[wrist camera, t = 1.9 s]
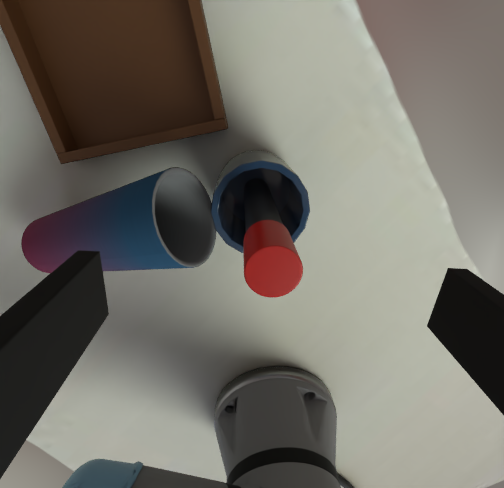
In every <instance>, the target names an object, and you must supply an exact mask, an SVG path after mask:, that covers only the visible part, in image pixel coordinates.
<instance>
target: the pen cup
mask: <svg viewBox="0 0 504 488" xmlns="http://www.w3.org/2000/svg"><path fill="white" fill-rule="evenodd" d="M255 178H258V179H262V180H263V181H265V182H266V183H267V185H268V187H269V190H270V192H271V195H272V197H273V200H274V203H275V205H276V208H277V210H278V213H279V215H280V218H281V220H282V223H283V225H284V226H285V227H286V228H287V230H288V231H289V233H290V236H291V238H292V241H293V243H294V242H295V241H296V239H297V238H298V237H299V235H300V234H301V233H302V232H303V230H304V229H305V226H306V223H307V219H308V216H309V212H310V207H309V199H308V192H307V190H306V189H305V187H304V185H303V184H302V182H301V180H300V179H299V177H298V176H297V175H296V173H295V172H294V171H293V170H292V169H291V168H290V167H289V166H288V165H287V164H286V163H285V162H284V161H283V160H281V159H280V158H279V157H277V156H276V155H274V154H272V153H270V152H266V151H262V150H251V151H246V152H243V153H241V154H239V155H237V156H235V157H234V158H233V159H231V160H230V161H229V162H228V163H227V164H226V166H225V167H224V169H223V171H222V172H221V174H220V176H219V179H218V182H217V185H216V188H215V191H214V194H213V200H212V207H211V214H212V218H213V222H214V226H215V229H216V231H217V232H218V233H219V235H220V236H221V237H222V239H223V240H224V241H225V242H226V244H228V245H229V246H231V247H233V248H234V249H236V250H238V251H240V252H241V253H244V249H243V240H244V236H245V233H246V231H245V209H244V187H245V185H246V183H247V182H248V181H250V180H251V179H255Z"/></svg>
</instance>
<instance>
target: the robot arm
mask: <svg viewBox="0 0 504 488" xmlns="http://www.w3.org/2000/svg"><path fill="white" fill-rule="evenodd" d="M108 314H109V313H108V306H107V299H106V292H105V285H104V278H103V271H102V264H101V257H100V251H82V250H78V251H77V252H75V253H74V254H73V255H72V256H71V257H70V258H68V259H67V260H66V261H65V262H64V263H62V264H61V265H60V266H59V267H58V268H57V269H55V270H54V271H53V272H52V273H51V274H49V275H48V276H47V277H46V278H45V279H44V280H42V281H41V282H40V283H39V284H38V285H36V286H35V287H34V288H33V289H32V290H31V291H29V292H28V293H27V294H26V295H25V296H23V297H22V298H21V299H20V300H19V301H18V302H16V303H15V304H14V305H13V306H12V307H11V308H9V309H8V310H7V311H6V312H5V313H3V314H2V315H1V316H0V479H1V477H2V476H3V474H4V472H5V471H6V469H7V468H8V466H9V465H10V463H11V462H12V460H13V459H14V457H15V456H16V454H17V453H18V451H19V450H20V448H21V447H22V445H23V444H24V442H25V441H26V439H27V437H28V436H29V434H30V433H31V431H32V430H33V428H34V427H35V425H36V424H37V422H38V421H39V419H40V418H41V416H42V415H43V413H44V412H45V410H46V409H47V407H48V406H49V404H50V403H51V401H52V399H53V398H54V396H55V395H56V393H57V392H58V390H59V389H60V387H61V386H62V384H63V383H64V381H65V380H66V378H67V377H68V375H69V374H70V372H71V371H72V369H73V368H74V366H75V365H76V363H77V361H78V360H79V358H80V357H81V355H82V354H83V352H84V351H85V349H86V348H87V346H88V345H89V343H90V342H91V340H92V339H93V337H94V336H95V334H96V333H97V331H98V330H99V328H100V327H101V325H102V323H103V322H104V320H105V319H106V317H107V316H108ZM427 327H428V328H429V329H430V330H431V331H432V332H433V334H434V335H435V336H436V337H437V338H438V339H439V341H440V342H441V343H442V344H443V345H444V346H445V347H446V349H447V350H448V351H449V352H450V353H451V354H452V356H453V357H454V358H455V359H456V360H457V361H458V363H459V364H460V365H461V366H462V367H463V368H464V370H465V371H466V372H467V373H468V374H469V375H470V377H471V378H472V379H473V380H474V381H475V382H476V384H477V385H478V386H479V387H480V388H481V389H482V390H483V392H484V393H485V394H486V395H487V396H488V397H489V399H490V400H491V401H492V402H493V403H494V404H495V406H496V407H497V408H498V409H499V410H500V411H501V413H502V414H503V415H504V295H503V294H502V293H500V292H499V291H498V290H496V289H495V288H493V287H492V286H490V285H489V284H488V283H486V282H485V281H483V280H482V279H481V278H479V277H478V276H476V275H475V274H473V273H472V272H471V271H469V270H468V269H454V268H448V270H447V273H446V275H445V278H444V281H443V284H442V286H441V289H440V292H439V294H438V297H437V300H436V303H435V305H434V308H433V311H432V314H431V316H430V319H429V322H428V325H427ZM336 418H337V416H336V409H335V406H334V403H333V400H332V397H331V394H330V392H329V390H328V388H327V387H326V386H325V384H324V383H323V382H322V381H321V380H319V379H318V378H317V377H315V376H314V375H312V374H310V373H308V372H306V371H303V370H300V369H296V368H291V367H266V368H260V369H256V370H253V371H250V372H247V373H245V374H243V375H241V376H239V377H237V378H236V379H234V380H233V381H232V382H230V383H229V384H228V385H227V386H226V387H225V388H224V390H223V391H222V392H221V394H220V396H219V397H218V400H217V403H216V408H215V419H214V426H215V432H216V436H217V440H218V444H219V448H220V452H221V456H222V460H223V463H224V467H225V471H226V475H227V483H224V482H220V481H215V480H210V479H205V478H201V477H196V476H191V475H187V474H182V473H177V472H172V471H168V470H163V469H158V468H154V467H149V466H144V465H143V463H141V462H136V463H134V464H132V463H126V462H119V461H112V460H106V459H95V460H91V461H89V462H87V463H85V464H83V465H82V466H80V467H79V468H78V469H77V470H76V471H75V472H74V473H73V474H72V475H71V477H70V478H69V479H68V480H67V482H66V483H65V485H64V486H63V488H341V486H343V487H344V488H353V486H352V485H351V484H349V483H348V482H347V481H346V480H344V479H343V478H342V477H340V476H339V475H337V471H336V466H335V457H336V423H337V419H336ZM340 485H341V486H340Z"/></svg>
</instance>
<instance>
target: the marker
mask: <svg viewBox="0 0 504 488" xmlns="http://www.w3.org/2000/svg"><path fill="white" fill-rule="evenodd" d="M244 209H245V231H246V233H245V236H244V240H243V249H244V277H245V280H246V282H247V284H248V286H249V287H250V288H251V289H252V290H253V291H254V292H256V293H257V294H259V295H262V296H265V297H279V296H283V295H286V294H288V293H289V292H291V291H292V290H293V289H295V287H296V286H297V285H298V284H299V282H300V280H301V277H302V274H303V266H302V262H301V260H300V257H299V255H298V253H297V250H296V248H295V245H294V243H293V241H292V238H291V236H290V233H289V231H288V230H287V228H286V227H285V226H284V225H283V223H282V220H281V218H280V215H279V213H278V210H277V208H276V205H275V203H274V200H273V197H272V195H271V192H270V190H269V187H268V185H267V183H266V182H265V181H263V180H262V179H258V178H255V179H251V180H250V181H248V182H247V183H246V185H245V187H244Z"/></svg>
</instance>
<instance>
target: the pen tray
mask: <svg viewBox="0 0 504 488" xmlns="http://www.w3.org/2000/svg"><path fill="white" fill-rule="evenodd" d="M0 25H1V27H2V30H3V32H4V34H5V36H6V39H7V41H8V43H9V46H10V48H11V50H12V53H13V55H14V57H15V59H16V62H17V64H18V66H19V69H20V71H21V73H22V75H23V78H24V80H25V82H26V85H27V87H28V89H29V92H30V94H31V96H32V98H33V101H34V103H35V105H36V108H37V110H38V112H39V114H40V117H41V119H42V121H43V124H44V126H45V128H46V131H47V133H48V135H49V137H50V140H51V142H52V144H53V147H54V149H55V151H56V153H57V156H58V158H59V160H60V163H61V164H64V163H69V162H74V161H78V160H83V159H88V158H93V157H97V156H102V155H107V154H112V153H116V152H121V151H126V150H130V149H135V148H140V147H145V146H149V145H154V144H159V143H164V142H168V141H173V140H178V139H182V138H187V137H192V136H197V135H201V134H206V133H211V132H215V131H220V130H225V129H227V128H228V124H227V119H226V114H225V109H224V105H223V100H222V95H221V91H220V86H219V81H218V76H217V72H216V67H215V62H214V58H213V53H212V48H211V43H210V39H209V34H208V29H207V25H206V20H205V15H204V10H203V6H202V1H201V0H0Z"/></svg>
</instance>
